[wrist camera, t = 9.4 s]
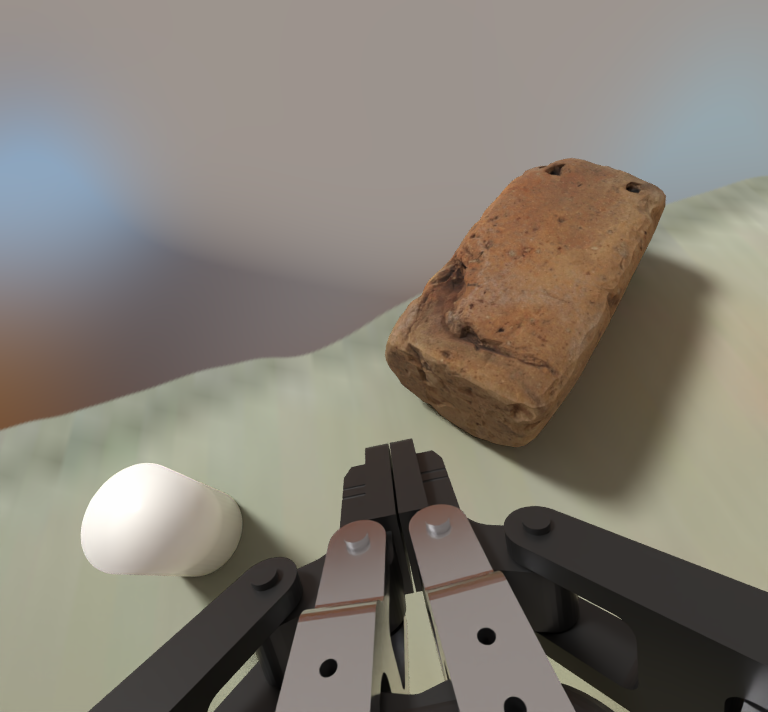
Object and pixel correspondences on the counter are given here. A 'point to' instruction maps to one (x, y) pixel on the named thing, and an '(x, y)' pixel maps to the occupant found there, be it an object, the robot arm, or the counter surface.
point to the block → (525, 299)
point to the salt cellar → (159, 524)
